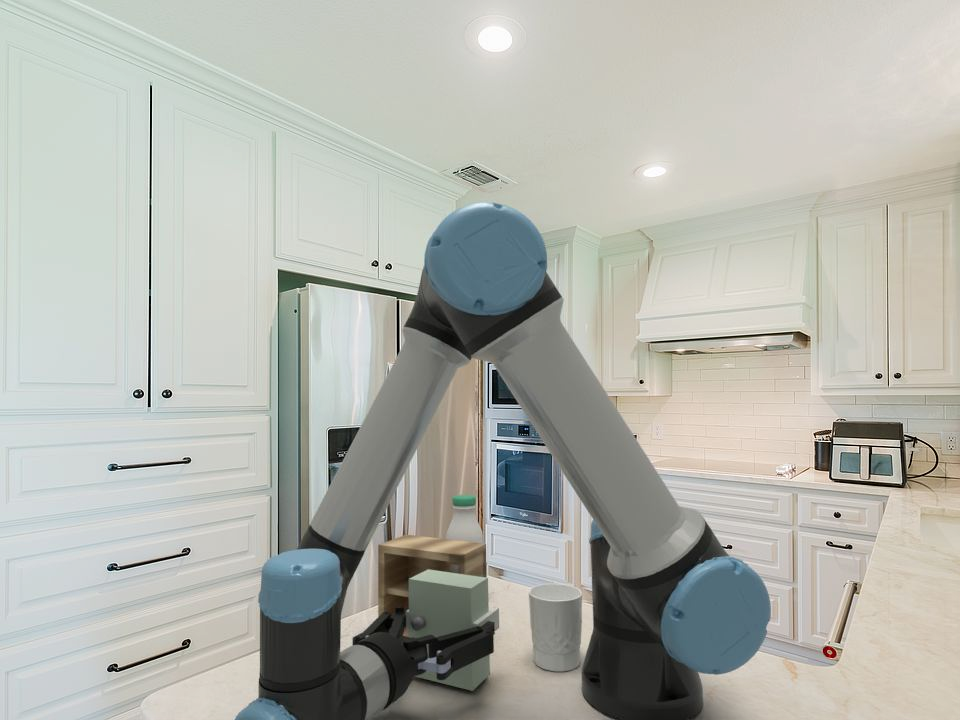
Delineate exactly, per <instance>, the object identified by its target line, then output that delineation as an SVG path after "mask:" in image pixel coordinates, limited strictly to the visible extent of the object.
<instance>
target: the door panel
mask: <svg viewBox="0 0 960 720" xmlns="http://www.w3.org/2000/svg"><path fill="white" fill-rule="evenodd" d="M489 609H490V607H489V577H487V578H485V577H478V576H471V575H464V574H457V573H450V572H443V571H436V570H429V569H428V570H426V571H424V572H422V573H420V574H418V575H416V576H414V577H412V578H410V579H409V637H410V638H411V637H413V638H419V637H423V636H427V635H433V636H435V637H439V636H443V635H447V634H450V633H454V632H458V631H462V630H465V629H469V628H473V624H472V623H474V622H475V621H476V620H478V619H479V618H481V617H482V616H483V615H485V614H486V613H487V612H489V611H490V610H489ZM426 646H427V653H428V658H429V644H426ZM490 655H491V654H490ZM490 655H487V656H485V657H483V658H481V659H479V660H477V661H475V662H473V663H471V664H469V665H467V666H465V667H463V668H461V669H459V670H457V671H455V672H453V673H452V674H451V675H450V676H449V677H448V678H447V679H445V680H438V679H437V674H436V672H434V671H429V670H427V671H426V672H425V673H423V674H421V675H417V676H415V677H414V678H419V679H424V680H429V681H432V682H436V683H440V684H444V685H448V686H452V687H456V688H460V689H465V690H468V691H471V692H473V691H474V690H475V689H476V688H478V686H479V685H481V683H483V682H484V681H485V680H486V679H487V678H488V677H489V675H491V665H490V664H491V663H490V662H491V661H490V658H491V657H490Z"/></svg>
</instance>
